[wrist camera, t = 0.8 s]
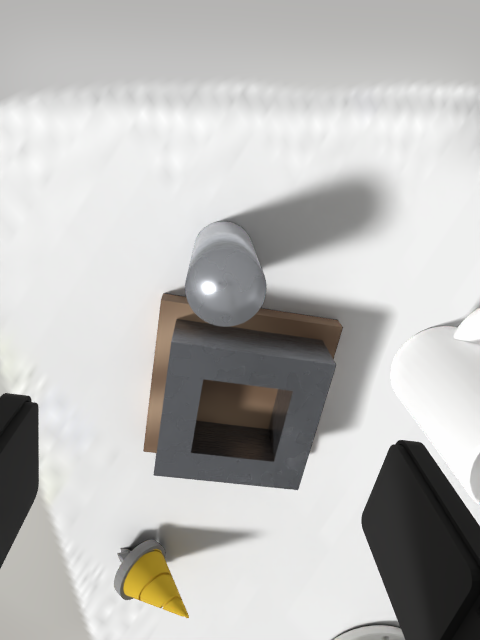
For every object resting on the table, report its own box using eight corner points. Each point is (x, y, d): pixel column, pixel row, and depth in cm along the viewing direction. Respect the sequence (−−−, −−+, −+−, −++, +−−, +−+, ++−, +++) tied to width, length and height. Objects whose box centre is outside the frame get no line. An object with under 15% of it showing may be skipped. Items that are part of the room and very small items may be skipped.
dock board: (297, 456, 38) (300, 468, 37) (146, 440, 37) (143, 451, 35) (337, 320, 33) (342, 327, 32) (163, 293, 32) (161, 300, 30)
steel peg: (247, 283, 32) (257, 331, 23) (190, 274, 31) (180, 320, 23) (258, 226, 30) (274, 256, 22) (198, 216, 30) (191, 242, 21)
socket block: (289, 455, 36) (298, 489, 33) (160, 440, 35) (153, 475, 31) (322, 340, 32) (336, 364, 29) (176, 318, 31) (171, 341, 27)
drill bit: (124, 517, 41) (194, 583, 35) (150, 530, 45) (217, 591, 39) (86, 569, 39) (154, 648, 33) (117, 578, 43) (182, 650, 37)
